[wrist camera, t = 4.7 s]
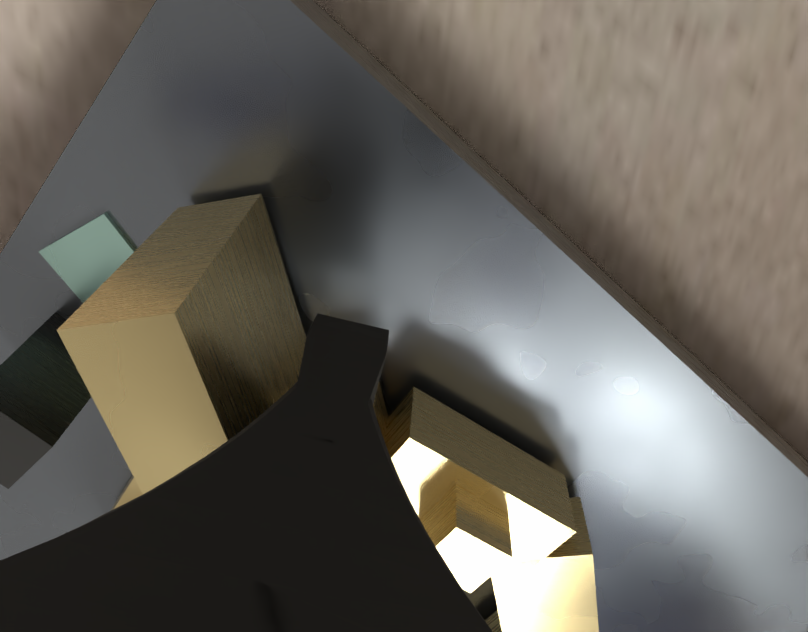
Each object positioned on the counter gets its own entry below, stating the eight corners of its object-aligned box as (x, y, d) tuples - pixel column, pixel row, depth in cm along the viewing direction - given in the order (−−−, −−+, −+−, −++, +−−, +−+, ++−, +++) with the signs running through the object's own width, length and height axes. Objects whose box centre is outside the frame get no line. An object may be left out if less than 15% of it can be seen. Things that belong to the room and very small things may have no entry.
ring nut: (597, 698, 18) (632, 885, 14) (209, 716, 19) (156, 887, 16) (549, 144, 10) (598, 252, 7) (-67, 249, 12) (-276, 378, 9)
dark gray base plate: (902, 550, 16) (1023, 717, 13) (412, 792, 24) (405, 939, 20) (229, -78, 10) (118, -81, 7) (-140, 505, 18) (-282, 642, 14)
